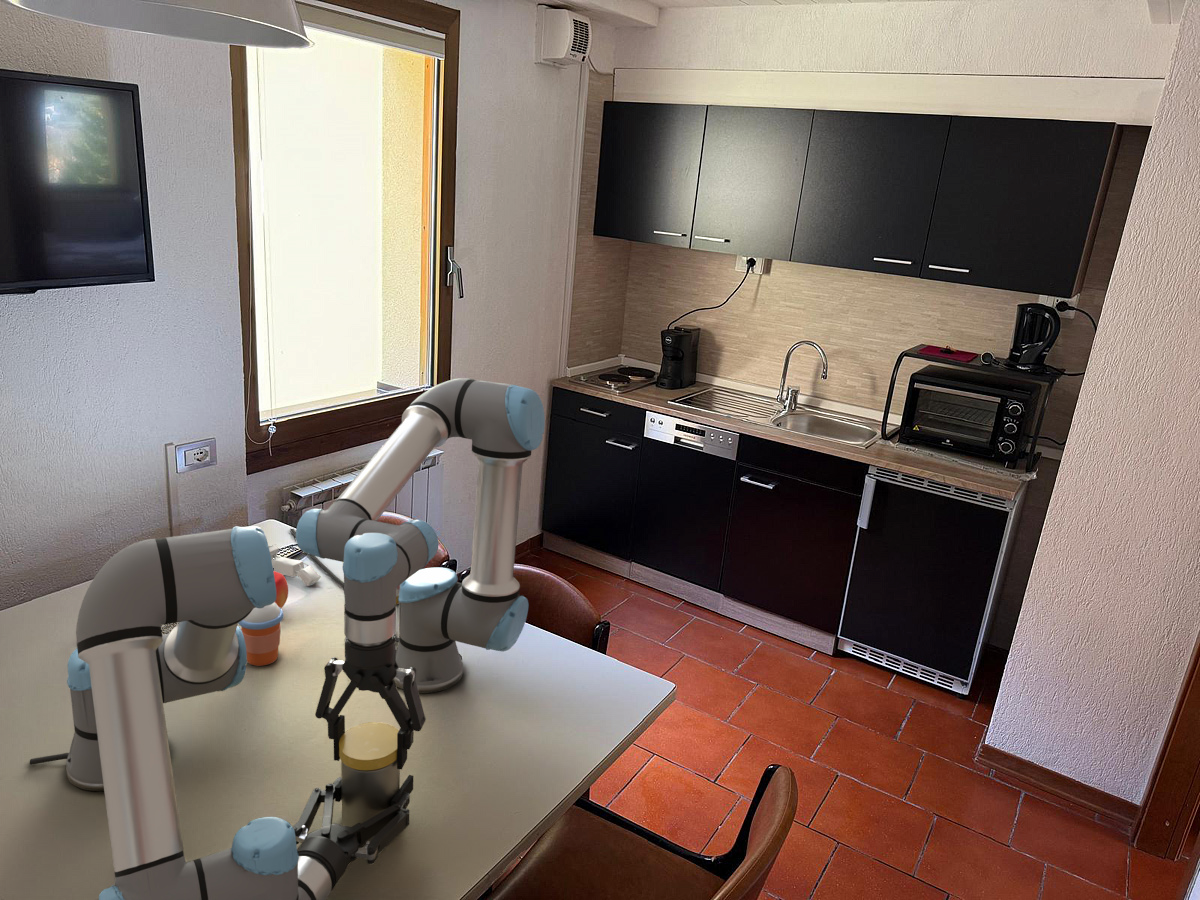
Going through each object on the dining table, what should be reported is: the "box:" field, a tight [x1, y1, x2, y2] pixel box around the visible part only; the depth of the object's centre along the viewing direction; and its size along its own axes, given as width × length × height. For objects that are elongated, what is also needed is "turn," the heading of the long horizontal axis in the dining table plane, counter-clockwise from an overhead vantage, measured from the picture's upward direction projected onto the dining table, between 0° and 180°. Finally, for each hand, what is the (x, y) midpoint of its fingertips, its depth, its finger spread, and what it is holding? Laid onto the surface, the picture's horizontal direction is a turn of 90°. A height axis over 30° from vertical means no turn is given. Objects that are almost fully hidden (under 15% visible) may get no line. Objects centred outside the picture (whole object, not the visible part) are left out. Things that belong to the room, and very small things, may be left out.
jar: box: [340, 759, 401, 846], centre depth 137 cm, size 9×9×16 cm
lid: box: [339, 721, 400, 770], centre depth 135 cm, size 10×10×2 cm
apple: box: [274, 571, 289, 609], centre depth 199 cm, size 10×10×10 cm
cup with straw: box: [238, 602, 285, 667], centre depth 180 cm, size 9×9×18 cm
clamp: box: [268, 544, 322, 587], centre depth 219 cm, size 20×4×7 cm, turn 62°
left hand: (383, 775), depth 142 cm, fingers closed on jar, 9 cm apart
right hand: (370, 759), depth 136 cm, fingers closed on lid, 10 cm apart
